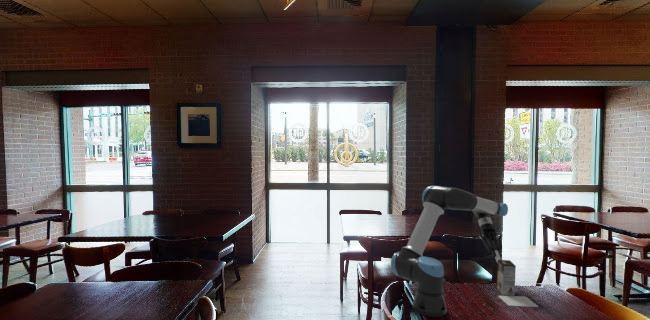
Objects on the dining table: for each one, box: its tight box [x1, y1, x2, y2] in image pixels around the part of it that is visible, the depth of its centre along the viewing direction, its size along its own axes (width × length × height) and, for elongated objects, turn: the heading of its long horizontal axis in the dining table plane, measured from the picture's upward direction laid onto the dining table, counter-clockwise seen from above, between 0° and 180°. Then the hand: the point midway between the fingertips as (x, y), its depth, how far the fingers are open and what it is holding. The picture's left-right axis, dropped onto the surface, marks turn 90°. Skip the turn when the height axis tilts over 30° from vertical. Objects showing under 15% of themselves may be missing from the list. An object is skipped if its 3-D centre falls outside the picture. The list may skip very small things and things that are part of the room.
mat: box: [497, 295, 539, 308], centre depth 164 cm, size 14×11×1 cm
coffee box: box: [496, 259, 517, 296], centre depth 175 cm, size 9×6×16 cm
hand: (499, 261), depth 184 cm, fingers closed
